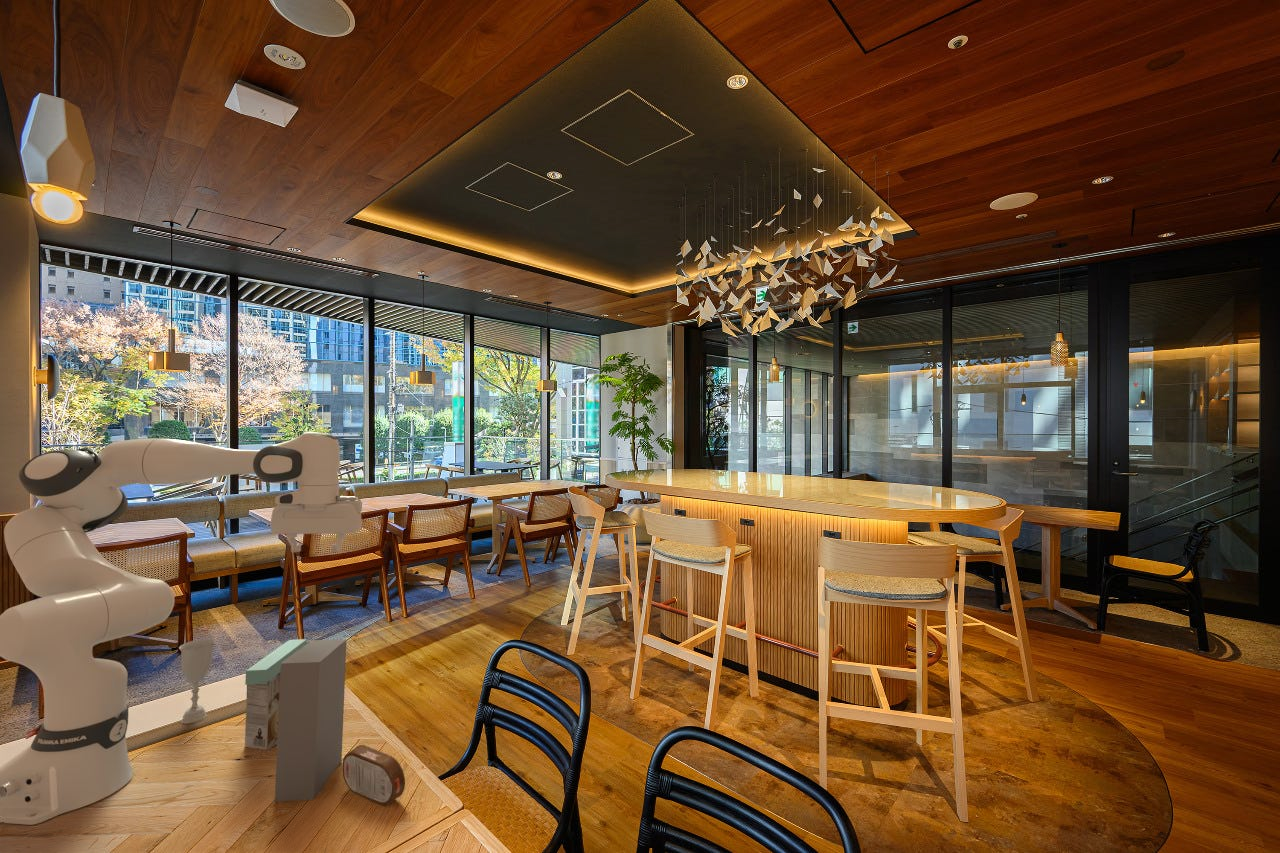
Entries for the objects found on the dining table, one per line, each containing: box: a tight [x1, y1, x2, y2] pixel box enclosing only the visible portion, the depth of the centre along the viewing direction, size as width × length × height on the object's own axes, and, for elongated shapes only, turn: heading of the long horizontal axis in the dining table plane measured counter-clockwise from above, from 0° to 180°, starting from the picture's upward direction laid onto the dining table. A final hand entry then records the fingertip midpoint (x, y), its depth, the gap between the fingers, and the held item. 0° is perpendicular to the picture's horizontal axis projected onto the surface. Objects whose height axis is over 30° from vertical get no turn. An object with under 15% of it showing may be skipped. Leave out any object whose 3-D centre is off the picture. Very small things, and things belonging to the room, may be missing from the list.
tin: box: [342, 744, 406, 806], centre depth 101 cm, size 15×3×8 cm, turn 65°
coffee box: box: [244, 673, 280, 751], centre depth 120 cm, size 9×6×16 cm
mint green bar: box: [244, 638, 308, 686], centre depth 121 cm, size 4×18×3 cm, turn 8°
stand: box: [273, 638, 347, 803], centre depth 106 cm, size 7×12×26 cm, turn 7°
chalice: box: [178, 638, 217, 724], centre depth 128 cm, size 7×7×18 cm
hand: (316, 551), depth 130 cm, fingers open, 8 cm apart
